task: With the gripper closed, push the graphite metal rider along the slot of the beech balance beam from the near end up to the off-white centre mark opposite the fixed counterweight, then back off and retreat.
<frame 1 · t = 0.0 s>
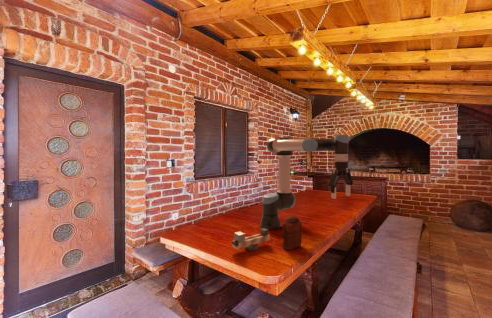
hand: (341, 197, 149), 28 cm above the table, fingers open, 13 cm apart
wooden figurine: (291, 247, 147), on the table
beam: (251, 248, 145), on the table
rider: (239, 237, 140), point 8 cm above the table, slide at -8.0 cm
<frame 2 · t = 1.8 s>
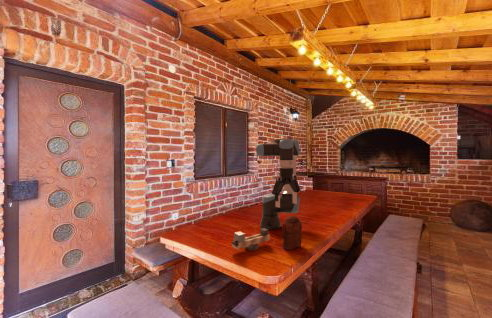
hand: (286, 205, 142), 25 cm above the table, fingers open, 13 cm apart
nothing on the table moved.
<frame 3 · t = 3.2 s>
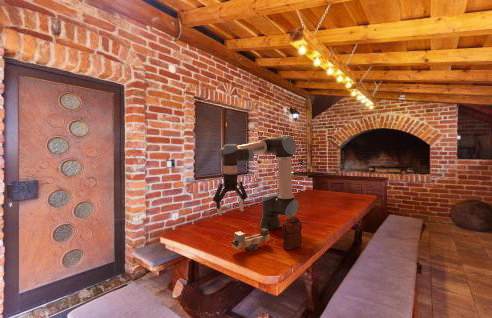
hand: (230, 212, 136), 23 cm above the table, fingers open, 13 cm apart
nothing on the table moved.
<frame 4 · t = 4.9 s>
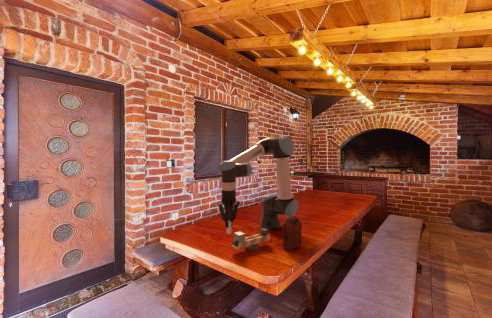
hand: (228, 233, 136), 12 cm above the table, fingers closed
nothing on the table moved.
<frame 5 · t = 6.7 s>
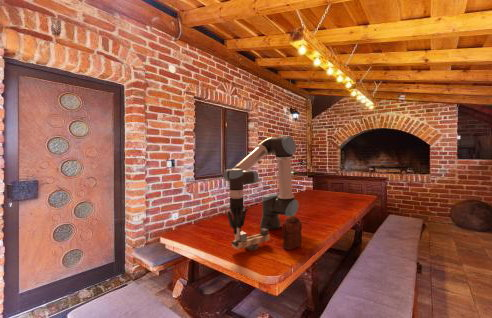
hand: (237, 239, 140), 7 cm above the table, fingers closed
rider: (241, 237, 141), point 8 cm above the table, slide at -6.8 cm, touching gripper
everything else where it was.
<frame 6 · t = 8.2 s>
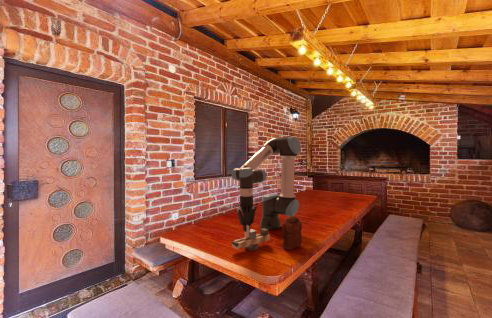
hand: (246, 236, 143), 8 cm above the table, fingers closed
rider: (250, 234, 145), point 8 cm above the table, slide at -0.3 cm, touching gripper
everything else where it was.
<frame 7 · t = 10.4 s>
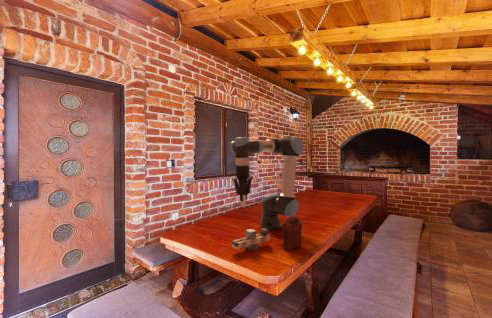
hand: (243, 206, 143), 25 cm above the table, fingers closed
rider: (250, 234, 145), point 8 cm above the table, slide at -0.3 cm
everything else where it was.
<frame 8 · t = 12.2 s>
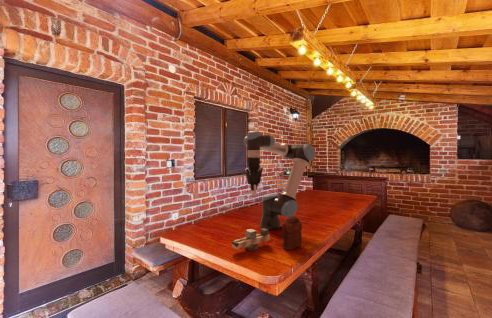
hand: (254, 195, 155), 28 cm above the table, fingers closed
nothing on the table moved.
at the end: rider slide at -0.3 cm; rider touching nothing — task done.
